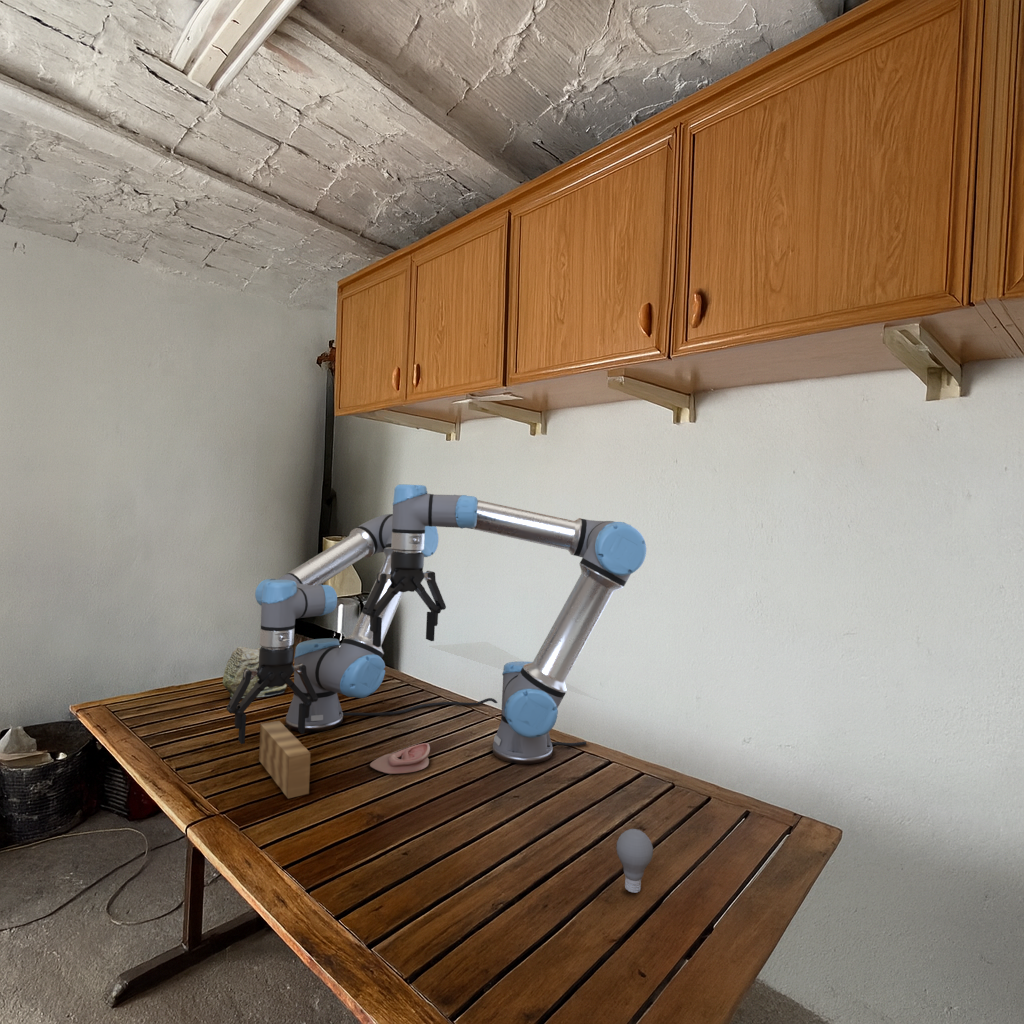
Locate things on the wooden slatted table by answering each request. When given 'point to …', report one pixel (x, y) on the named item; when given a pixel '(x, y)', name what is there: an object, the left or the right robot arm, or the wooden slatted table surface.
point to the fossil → (236, 667)
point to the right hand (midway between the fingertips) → (404, 642)
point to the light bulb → (634, 857)
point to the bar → (284, 759)
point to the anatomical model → (404, 760)
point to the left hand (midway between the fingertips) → (272, 736)
